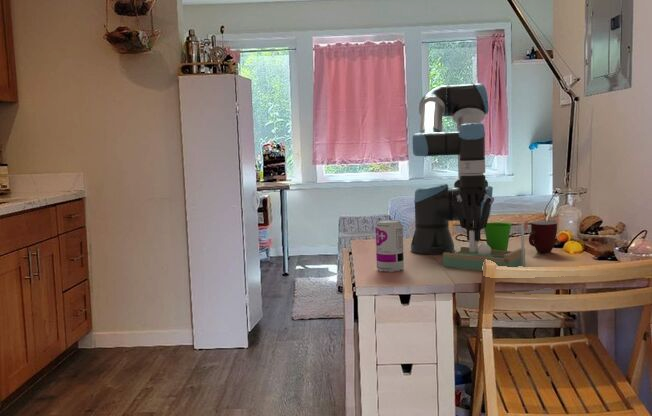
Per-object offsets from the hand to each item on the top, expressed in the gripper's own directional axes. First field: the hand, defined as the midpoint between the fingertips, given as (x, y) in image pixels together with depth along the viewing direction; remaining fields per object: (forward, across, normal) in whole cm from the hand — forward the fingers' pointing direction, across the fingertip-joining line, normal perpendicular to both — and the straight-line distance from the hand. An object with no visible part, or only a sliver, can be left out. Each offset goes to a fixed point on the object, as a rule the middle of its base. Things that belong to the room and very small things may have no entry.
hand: (473, 251), depth 182 cm
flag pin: (+5, +15, +3) cm, 16 cm away
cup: (+5, +1, +14) cm, 15 cm away
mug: (+4, +9, +29) cm, 31 cm away
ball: (-2, +4, 0) cm, 5 cm away
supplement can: (+5, -19, -18) cm, 26 cm away
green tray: (+5, +3, 0) cm, 5 cm away
